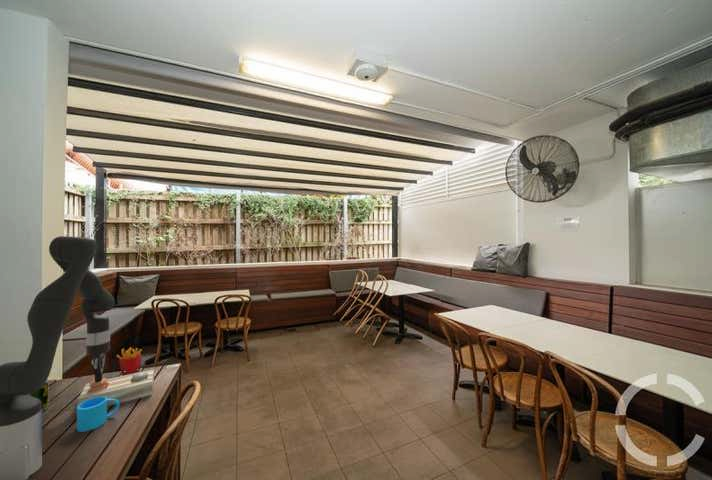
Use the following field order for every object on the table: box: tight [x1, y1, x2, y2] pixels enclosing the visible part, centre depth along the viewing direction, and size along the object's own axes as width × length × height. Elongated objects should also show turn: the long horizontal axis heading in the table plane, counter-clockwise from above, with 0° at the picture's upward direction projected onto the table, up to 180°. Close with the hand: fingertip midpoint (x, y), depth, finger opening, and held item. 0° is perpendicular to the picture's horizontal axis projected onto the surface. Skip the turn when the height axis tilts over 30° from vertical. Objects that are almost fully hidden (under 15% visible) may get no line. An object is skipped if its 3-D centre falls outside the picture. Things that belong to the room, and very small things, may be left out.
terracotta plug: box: [90, 377, 108, 392], centre depth 118 cm, size 5×5×7 cm
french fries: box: [116, 347, 143, 376], centre depth 138 cm, size 9×8×15 cm
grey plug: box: [132, 371, 147, 382], centre depth 126 cm, size 5×5×7 cm
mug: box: [76, 397, 121, 433], centre depth 105 cm, size 12×8×8 cm
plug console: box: [77, 368, 155, 407], centre depth 122 cm, size 14×24×6 cm, turn 125°
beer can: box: [28, 378, 50, 412], centre depth 112 cm, size 5×5×12 cm
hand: (98, 381), depth 118 cm, fingers closed
